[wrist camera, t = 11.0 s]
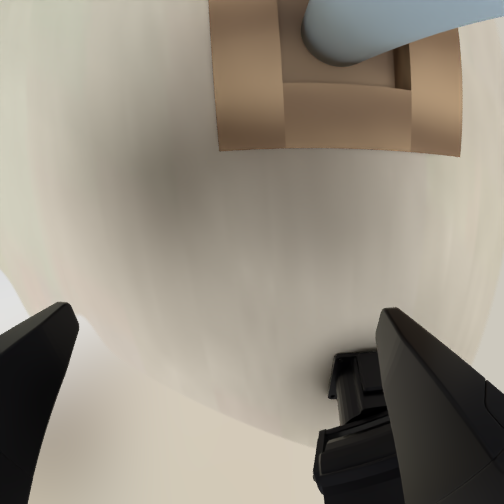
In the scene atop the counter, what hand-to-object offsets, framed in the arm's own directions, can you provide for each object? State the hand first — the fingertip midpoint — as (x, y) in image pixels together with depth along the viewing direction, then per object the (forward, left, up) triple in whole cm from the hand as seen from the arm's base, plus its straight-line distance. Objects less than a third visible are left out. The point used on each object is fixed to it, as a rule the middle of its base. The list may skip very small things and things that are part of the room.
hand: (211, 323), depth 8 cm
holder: (+10, -6, -13) cm, 17 cm away
